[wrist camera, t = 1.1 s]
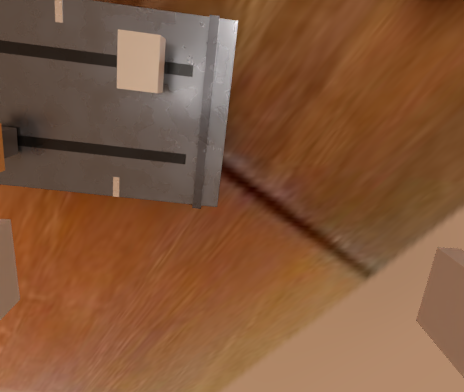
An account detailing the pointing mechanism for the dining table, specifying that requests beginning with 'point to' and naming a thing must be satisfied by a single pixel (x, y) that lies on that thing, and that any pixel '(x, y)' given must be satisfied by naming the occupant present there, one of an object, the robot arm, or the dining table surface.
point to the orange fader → (7, 144)
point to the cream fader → (140, 61)
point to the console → (114, 101)
